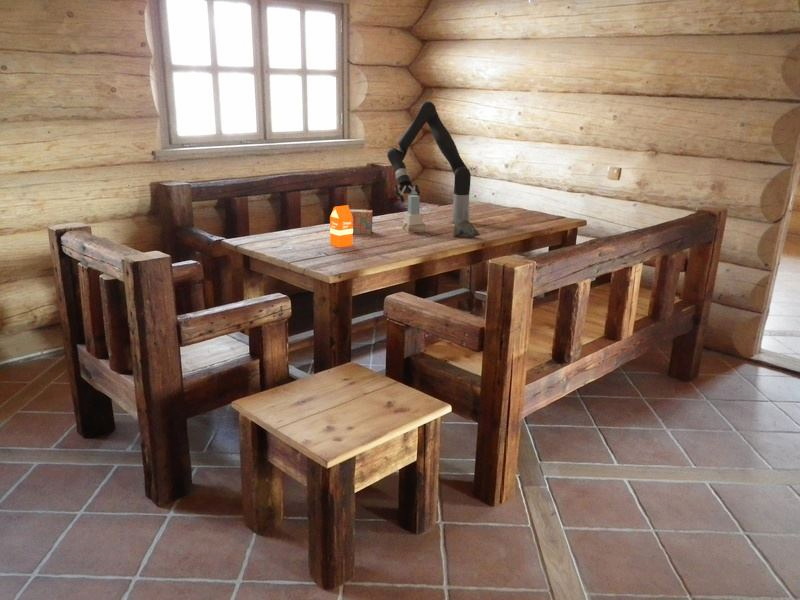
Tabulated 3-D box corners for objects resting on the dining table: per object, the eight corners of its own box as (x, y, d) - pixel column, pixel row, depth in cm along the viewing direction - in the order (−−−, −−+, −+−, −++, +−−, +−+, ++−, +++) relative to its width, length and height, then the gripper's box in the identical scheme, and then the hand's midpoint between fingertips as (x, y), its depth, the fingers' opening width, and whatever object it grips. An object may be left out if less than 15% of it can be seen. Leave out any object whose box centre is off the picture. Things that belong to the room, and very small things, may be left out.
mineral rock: (480, 238, 369) (482, 220, 366) (465, 240, 363) (466, 222, 360) (465, 234, 379) (466, 216, 376) (450, 236, 373) (451, 218, 370)
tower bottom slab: (401, 230, 387) (401, 221, 385) (417, 229, 391) (417, 220, 389) (408, 233, 378) (408, 225, 377) (425, 232, 382) (425, 223, 380)
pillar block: (407, 213, 383) (408, 195, 380) (415, 212, 385) (416, 195, 382) (410, 214, 379) (411, 196, 376) (419, 214, 380) (419, 196, 377)
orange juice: (353, 244, 349) (353, 206, 343) (339, 247, 343) (338, 207, 337) (343, 242, 355) (343, 203, 348) (329, 244, 349) (329, 205, 343)
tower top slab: (403, 221, 385) (404, 212, 384) (416, 220, 388) (417, 212, 386) (409, 224, 378) (409, 215, 377) (422, 223, 381) (422, 214, 379)
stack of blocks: (332, 233, 375) (332, 210, 371) (334, 230, 381) (334, 208, 377) (371, 234, 375) (371, 211, 371) (372, 231, 381) (372, 209, 377)
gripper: (393, 174, 385) (400, 198, 378) (416, 173, 390) (423, 197, 383) (389, 182, 391) (396, 206, 384) (412, 181, 396) (419, 204, 390)
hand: (410, 201), depth 384 cm, fingers open, 8 cm apart
